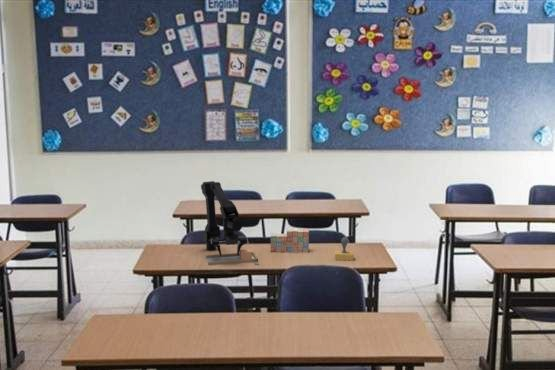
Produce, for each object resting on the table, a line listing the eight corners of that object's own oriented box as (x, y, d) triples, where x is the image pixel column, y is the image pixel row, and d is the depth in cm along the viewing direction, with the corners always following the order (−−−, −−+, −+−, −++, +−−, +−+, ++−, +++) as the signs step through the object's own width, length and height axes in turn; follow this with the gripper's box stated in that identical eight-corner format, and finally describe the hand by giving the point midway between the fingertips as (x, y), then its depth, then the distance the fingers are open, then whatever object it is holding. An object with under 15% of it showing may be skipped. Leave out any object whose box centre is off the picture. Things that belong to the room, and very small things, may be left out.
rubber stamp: (334, 260, 336) (335, 238, 334) (334, 257, 342) (335, 235, 339) (353, 260, 335) (354, 239, 333) (353, 257, 341) (353, 236, 339)
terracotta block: (239, 256, 337) (239, 249, 337) (250, 256, 339) (250, 249, 338) (240, 259, 333) (240, 252, 332) (252, 259, 334) (252, 251, 333)
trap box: (205, 260, 336) (205, 255, 336) (253, 257, 342) (253, 252, 341) (208, 267, 324) (208, 262, 323) (258, 264, 329) (258, 258, 329)
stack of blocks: (270, 252, 352) (270, 230, 350) (271, 249, 358) (271, 228, 356) (308, 252, 350) (308, 231, 348) (308, 249, 356) (309, 228, 354)
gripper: (212, 232, 321) (213, 261, 324) (248, 230, 325) (249, 259, 328) (210, 227, 332) (210, 255, 335) (245, 225, 336) (245, 253, 339)
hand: (229, 256), depth 334 cm, fingers open, 9 cm apart
